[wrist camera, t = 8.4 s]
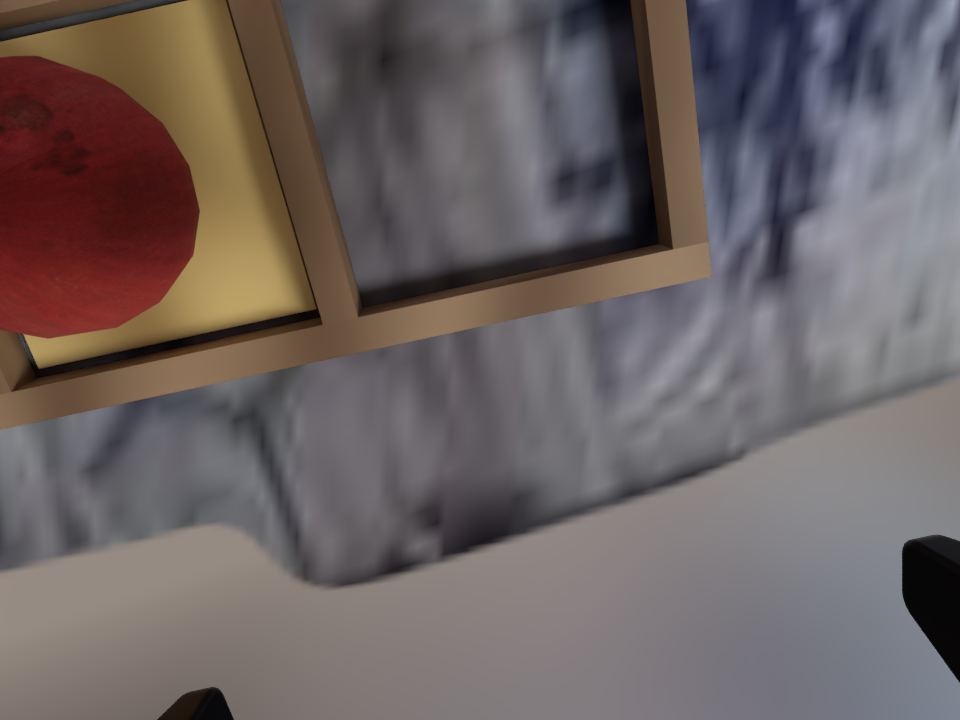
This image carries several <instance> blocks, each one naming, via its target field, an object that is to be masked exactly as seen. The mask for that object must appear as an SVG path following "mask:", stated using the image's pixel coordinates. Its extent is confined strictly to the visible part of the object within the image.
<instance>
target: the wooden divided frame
mask: <svg viewBox="0 0 960 720" xmlns="http://www.w3.org/2000/svg"><path fill="white" fill-rule="evenodd" d="M132 1H136V0H0V31H1V30H5V29H10V28H14V27H19V26H23V25H28V24H32V23H37V22H41V21H46V20H50V19H55V18H59V17H64V16H68V15H73V14H77V13H82V12H87V11H91V10H96V9H100V8H105V7H109V6H114V5H118V4H123V3H127V2H132ZM228 2H229V3H228ZM630 2H631V10H632V19H633V27H634V36H635V44H636V52H637V61H638V69H639V78H640V86H641V95H642V103H643V111H644V120H645V128H646V137H647V145H648V153H649V162H650V170H651V179H652V187H653V196H654V204H655V212H656V221H657V229H658V238H659V244H657V245H653V246H648V247H643V248H639V249H634V250H629V251H625V252H620V253H616V254H611V255H606V256H602V257H597V258H592V259H588V260H583V261H578V262H574V263H569V264H565V265H560V266H555V267H551V268H546V269H541V270H537V271H532V272H527V273H523V274H518V275H514V276H509V277H504V278H500V279H495V280H490V281H486V282H481V283H476V284H472V285H467V286H463V287H458V288H453V289H449V290H444V291H439V292H435V293H430V294H426V295H421V296H416V297H412V298H407V299H402V300H398V301H393V302H388V303H384V304H379V305H375V306H370V307H365V308H363V306H362V302H361V298H360V295H359V291H358V287H357V284H356V280H355V276H354V273H353V269H352V265H351V261H350V258H349V254H348V250H347V247H346V243H345V239H344V236H343V232H342V228H341V225H340V221H339V217H338V213H337V210H336V206H335V202H334V199H333V195H332V191H331V188H330V184H329V180H328V176H327V173H326V169H325V165H324V162H323V158H322V154H321V151H320V147H319V143H318V140H317V136H316V132H315V128H314V125H313V121H312V117H311V114H310V110H309V106H308V103H307V99H306V95H305V91H304V88H303V84H302V80H301V77H300V73H299V69H298V66H297V62H296V58H295V55H294V51H293V47H292V43H291V40H290V36H289V32H288V29H287V25H286V21H285V18H284V14H283V10H282V6H281V3H280V0H187V1H183V2H178V3H174V4H169V5H165V6H160V7H156V8H151V9H147V10H142V11H138V12H133V13H128V14H124V15H119V16H115V17H110V18H106V19H101V20H97V21H92V22H88V23H83V24H79V25H74V26H70V27H65V28H61V29H56V30H52V31H47V32H43V33H38V34H34V35H29V36H24V37H20V38H15V39H11V40H6V41H2V42H0V58H1V57H9V56H40V57H43V58H46V59H49V60H52V61H55V62H58V63H60V64H63V65H66V66H69V67H72V68H75V69H78V70H81V71H84V72H87V73H90V74H93V75H96V76H99V77H101V78H103V79H105V80H106V81H108V82H110V83H112V84H114V85H116V86H117V87H119V88H120V89H122V90H123V91H124V92H125V93H127V94H128V95H129V96H130V97H131V98H133V99H134V100H135V101H136V102H138V103H139V104H140V105H141V106H142V107H144V108H145V109H146V110H147V111H149V112H150V113H151V114H152V115H153V116H155V117H156V118H157V119H158V120H159V121H161V122H162V123H163V124H164V126H165V128H166V129H167V131H168V132H169V134H170V136H171V137H172V139H173V140H174V142H175V144H176V145H177V147H178V148H179V150H180V152H181V153H182V155H183V156H184V158H185V160H186V161H187V163H188V164H189V167H190V171H191V175H192V179H193V183H194V188H195V192H196V196H197V200H198V205H199V209H200V214H199V221H198V227H197V234H196V241H195V248H194V254H193V257H192V258H191V260H190V261H189V262H188V264H187V265H186V267H185V268H184V270H183V271H182V273H181V274H180V275H179V277H178V278H177V280H176V281H175V283H174V284H173V285H172V287H171V288H170V290H169V291H168V293H167V294H166V295H165V296H164V298H163V299H162V300H161V301H160V303H158V304H156V305H155V306H153V307H151V308H150V309H148V310H146V311H144V312H143V313H141V314H139V315H138V316H136V317H134V318H132V319H131V320H129V321H127V322H126V323H124V324H122V325H121V326H119V327H117V328H112V329H106V330H99V331H93V332H87V333H80V334H74V335H68V336H62V337H55V338H49V339H47V338H41V337H36V336H30V335H25V334H23V335H24V337H25V339H26V342H27V344H28V346H29V348H30V351H31V353H32V355H33V357H34V360H35V362H36V364H37V366H38V368H39V369H41V368H46V367H50V366H55V365H60V364H64V363H69V362H73V361H78V360H83V359H87V358H92V357H97V356H101V355H106V354H111V353H115V352H120V351H124V350H129V349H134V348H138V347H143V346H148V345H152V344H157V343H161V342H166V341H171V340H175V339H180V338H185V337H189V336H194V335H198V334H203V333H208V332H212V331H217V330H222V329H226V328H231V327H236V326H240V325H245V324H249V323H254V322H259V321H263V320H268V319H273V318H277V317H282V316H286V315H291V314H296V313H300V312H305V311H310V310H314V309H317V308H318V309H319V313H320V316H321V317H319V318H314V319H310V320H305V321H300V322H296V323H291V324H287V325H282V326H277V327H273V328H268V329H263V330H259V331H254V332H249V333H245V334H240V335H236V336H231V337H226V338H222V339H217V340H212V341H208V342H203V343H198V344H194V345H189V346H185V347H180V348H175V349H171V350H166V351H161V352H157V353H152V354H147V355H143V356H138V357H134V358H129V359H124V360H120V361H115V362H110V363H106V364H101V365H97V366H92V367H87V368H83V369H78V370H73V371H69V372H64V373H59V374H55V375H50V376H46V377H41V378H37V377H36V375H35V372H34V370H33V368H32V366H31V363H30V361H29V359H28V357H27V354H26V352H25V350H24V348H23V346H22V343H21V341H20V339H19V337H18V334H17V333H14V332H9V331H4V330H0V430H1V429H6V428H11V427H15V426H20V425H25V424H29V423H34V422H39V421H43V420H48V419H53V418H57V417H62V416H67V415H71V414H76V413H80V412H85V411H90V410H94V409H99V408H104V407H108V406H113V405H118V404H122V403H127V402H132V401H136V400H141V399H146V398H150V397H155V396H159V395H164V394H169V393H173V392H178V391H183V390H187V389H192V388H197V387H201V386H206V385H211V384H215V383H220V382H225V381H229V380H234V379H239V378H243V377H248V376H252V375H257V374H262V373H266V372H271V371H276V370H280V369H285V368H290V367H294V366H299V365H304V364H308V363H313V362H318V361H322V360H327V359H331V358H336V357H341V356H345V355H350V354H355V353H359V352H364V351H369V350H373V349H378V348H383V347H387V346H392V345H397V344H401V343H406V342H411V341H415V340H420V339H424V338H429V337H434V336H438V335H443V334H448V333H452V332H457V331H462V330H466V329H471V328H476V327H480V326H485V325H490V324H494V323H499V322H503V321H508V320H513V319H517V318H522V317H527V316H531V315H536V314H541V313H545V312H550V311H555V310H559V309H564V308H569V307H573V306H578V305H583V304H587V303H592V302H596V301H601V300H606V299H610V298H615V297H620V296H624V295H629V294H634V293H638V292H643V291H648V290H652V289H657V288H662V287H666V286H671V285H675V284H680V283H685V282H689V281H694V280H699V279H703V278H708V277H712V274H711V264H710V253H709V243H708V232H707V222H706V211H705V200H704V190H703V179H702V169H701V158H700V148H699V137H698V127H697V116H696V105H695V95H694V84H693V74H692V63H691V53H690V42H689V32H688V21H687V11H686V0H630ZM229 6H230V7H229ZM230 9H231V10H230ZM231 13H232V14H231ZM232 16H233V17H232ZM233 19H234V20H233ZM234 23H235V24H234ZM235 26H236V27H235ZM236 30H237V31H236ZM237 33H238V34H237ZM238 36H239V37H238ZM239 40H240V41H239ZM240 43H241V44H240ZM241 47H242V48H241ZM242 50H243V51H242ZM243 53H244V54H243ZM244 57H245V58H244ZM245 60H246V61H245ZM246 64H247V65H246ZM247 67H248V68H247ZM248 71H249V72H248ZM249 74H250V75H249ZM250 77H251V78H250ZM251 81H252V82H251ZM252 84H253V85H252ZM253 88H254V89H253ZM254 91H255V92H254ZM255 94H256V95H255ZM256 98H257V99H256ZM257 101H258V102H257ZM258 105H259V106H258ZM259 108H260V109H259ZM260 111H261V112H260ZM261 115H262V116H261ZM262 118H263V119H262ZM263 122H264V123H263ZM264 125H265V126H264ZM266 132H267V133H266ZM267 135H268V136H267ZM268 139H269V140H268ZM269 142H270V143H269ZM270 146H271V147H270ZM271 149H272V150H271ZM272 152H273V153H272ZM273 156H274V157H273ZM274 159H275V160H274ZM275 163H276V164H275ZM276 166H277V167H276ZM277 169H278V170H277ZM278 173H279V174H278ZM279 176H280V177H279ZM280 180H281V181H280ZM281 183H282V184H281ZM283 190H284V191H283ZM284 193H285V194H284ZM285 197H286V198H285ZM286 200H287V201H286ZM287 204H288V205H287ZM288 207H289V208H288ZM289 210H290V211H289ZM290 214H291V215H290ZM291 217H292V218H291ZM292 221H293V222H292ZM293 224H294V225H293ZM294 227H295V228H294ZM295 231H296V232H295ZM296 234H297V235H296ZM297 238H298V239H297ZM298 241H299V242H298ZM300 248H301V249H300ZM301 251H302V252H301ZM302 255H303V256H302ZM303 258H304V259H303ZM305 265H306V266H305ZM306 268H307V269H306ZM307 272H308V273H307ZM308 275H309V276H308ZM309 279H310V280H309ZM310 282H311V283H310ZM311 285H312V286H311ZM312 289H313V290H312ZM313 292H314V293H313ZM314 296H315V297H314ZM315 299H316V300H315ZM317 306H318V307H317Z"/></svg>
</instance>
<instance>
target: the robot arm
mask: <svg viewBox="0 0 960 720" xmlns="http://www.w3.org/2000/svg"><path fill="white" fill-rule="evenodd" d="M902 593H903V599H904V602H905V605H906V607H907V609H908V611H909V612H910V614H911V615H912V617H913V618H914V620H915V621H916V623H917V624H918V625H919V627H920V628H921V630H922V631H923V632H924V634H925V635H926V636H927V638H928V639H929V641H930V642H931V643H932V645H933V646H934V647H935V649H936V650H937V652H938V653H939V654H940V656H941V657H942V659H943V660H944V661H945V663H946V664H947V666H948V667H949V668H950V670H951V671H952V673H953V674H954V675H955V677H956V678H957V679H958V681H959V682H960V541H958V540H955V539H952V538H949V537H945V536H942V535H931V536H926V537H921V538H917V539H912V540H909V541H908V542H906V543H905V544H904V546H903V550H902ZM157 720H234V719H233V716H232V714H231V712H230V709H229V707H228V705H227V702H226V700H225V698H224V695H223V694H222V692H221V691H220V690H219V689H218V688H215V687H210V688H205V689H201V690H196V691H191V692H188V693H186V694H184V695H182V696H181V697H180V698H179V699H178V700H177V701H176V702H175V703H174V704H173V705H172V706H171V707H170V708H169V709H168V710H167V711H166V712H165V713H164V714H163V715H162V716H160V717H159V718H158V719H157Z"/></svg>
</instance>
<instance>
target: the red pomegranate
mask: <svg viewBox="0 0 960 720" xmlns="http://www.w3.org/2000/svg"><path fill="white" fill-rule="evenodd" d="M199 214H200V209H199V205H198V200H197V196H196V192H195V188H194V183H193V179H192V175H191V171H190V167H189V164H188V163H187V161H186V160H185V158H184V156H183V155H182V153H181V152H180V150H179V148H178V147H177V145H176V144H175V142H174V140H173V139H172V137H171V136H170V134H169V132H168V131H167V129H166V128H165V126H164V124H163V123H162V122H161V121H159V120H158V119H157V118H156V117H155V116H153V115H152V114H151V113H150V112H149V111H147V110H146V109H145V108H144V107H142V106H141V105H140V104H139V103H138V102H136V101H135V100H134V99H133V98H131V97H130V96H129V95H128V94H127V93H125V92H124V91H123V90H122V89H120V88H119V87H117V86H116V85H114V84H112V83H110V82H108V81H106V80H105V79H103V78H101V77H99V76H96V75H93V74H90V73H87V72H84V71H81V70H78V69H75V68H72V67H69V66H66V65H63V64H60V63H58V62H55V61H52V60H49V59H46V58H43V57H40V56H9V57H1V58H0V330H4V331H9V332H14V333H20V334H25V335H30V336H36V337H41V338H47V339H49V338H55V337H62V336H68V335H74V334H80V333H87V332H93V331H99V330H106V329H112V328H117V327H119V326H121V325H122V324H124V323H126V322H127V321H129V320H131V319H132V318H134V317H136V316H138V315H139V314H141V313H143V312H144V311H146V310H148V309H150V308H151V307H153V306H155V305H156V304H158V303H160V301H161V300H162V299H163V298H164V296H165V295H166V294H167V293H168V291H169V290H170V288H171V287H172V285H173V284H174V283H175V281H176V280H177V278H178V277H179V275H180V274H181V273H182V271H183V270H184V268H185V267H186V265H187V264H188V262H189V261H190V260H191V258H192V257H193V254H194V248H195V241H196V234H197V227H198V221H199Z"/></svg>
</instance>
